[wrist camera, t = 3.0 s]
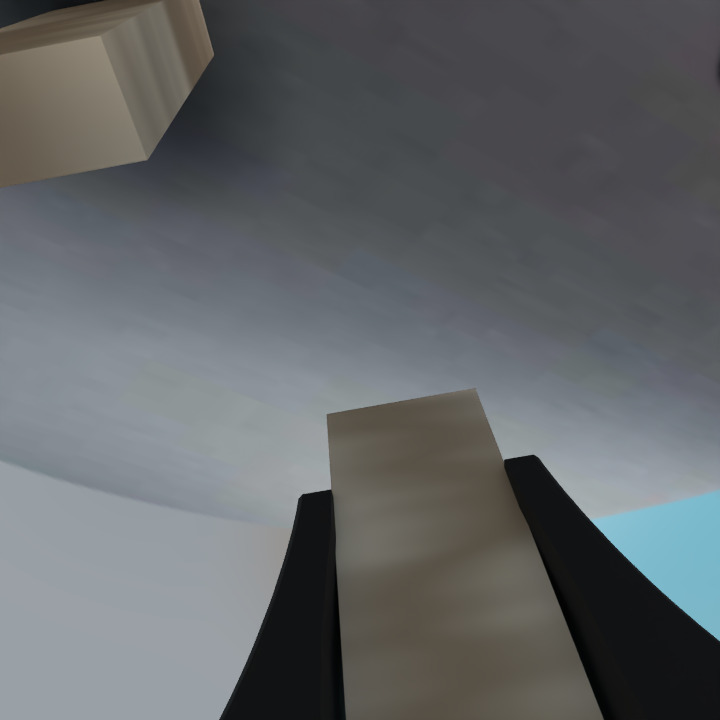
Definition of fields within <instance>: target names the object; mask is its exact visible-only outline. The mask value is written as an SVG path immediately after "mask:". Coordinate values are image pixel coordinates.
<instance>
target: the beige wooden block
mask: <svg viewBox="0 0 720 720" xmlns="http://www.w3.org/2000/svg"><path fill="white" fill-rule="evenodd" d="M213 56H214V52H213V49H212V45H211V42H210V38H209V35H208V31H207V27H206V24H205V20H204V17H203V13H202V9H201V6H200V2H199V0H105V1H100V2H95V3H90V4H84V5H79V6H74V7H69V8H64V9H59V10H54V11H50V12H47V13H44V14H41V15H38V16H35V17H32V18H30V19H27V20H24V21H21V22H18V23H15V24H12V25H9V26H6V27H4V28H1V29H0V188H1V187H6V186H11V185H17V184H22V183H27V182H33V181H38V180H43V179H49V178H54V177H59V176H65V175H70V174H75V173H81V172H86V171H91V170H97V169H102V168H107V167H113V166H118V165H123V164H129V163H134V162H139V161H145V160H148V158H149V157H150V155H151V154H152V152H153V151H154V149H155V147H156V146H157V144H158V143H159V141H160V140H161V138H162V136H163V135H164V133H165V132H166V130H167V129H168V127H169V125H170V124H171V122H172V121H173V119H174V118H175V116H176V114H177V113H178V111H179V110H180V108H181V107H182V105H183V103H184V102H185V100H186V99H187V97H188V96H189V94H190V92H191V91H192V89H193V88H194V86H195V84H196V83H197V81H198V80H199V78H200V77H201V75H202V73H203V72H204V70H205V69H206V67H207V66H208V64H209V62H210V61H211V59H212V58H213Z"/></svg>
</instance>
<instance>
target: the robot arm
mask: <svg viewBox="0 0 720 720" xmlns="http://www.w3.org/2000/svg"><path fill="white" fill-rule="evenodd" d="M504 468H505V471H506V474H507V476H508V479H509V482H510V484H511V487H512V489H513V492H514V495H515V497H516V500H517V502H518V505H519V508H520V510H521V512H522V514H523V516H524V518H525V520H526V522H527V524H528V526H529V528H530V531H531V533H532V536H533V539H534V541H535V544H536V546H537V549H538V551H539V554H540V557H541V559H542V562H543V564H544V567H545V569H546V572H547V575H548V577H549V580H550V582H551V585H552V588H553V590H554V593H555V595H556V598H557V600H558V603H559V606H560V608H561V611H562V613H563V616H564V618H565V621H566V624H567V626H568V629H569V631H570V634H571V637H572V639H573V642H574V644H575V647H576V649H577V652H578V655H579V657H580V660H581V662H582V665H583V667H584V670H585V673H586V675H587V678H588V680H589V683H590V685H591V688H592V691H593V693H594V696H595V698H596V701H597V704H598V706H599V709H600V711H601V714H602V716H603V719H604V720H720V641H719V640H717V639H716V638H715V637H714V636H713V635H711V634H710V633H709V632H708V631H706V630H705V629H704V628H703V627H701V626H700V625H699V624H698V623H697V622H696V621H694V620H693V619H692V618H691V617H690V616H689V615H687V614H686V613H685V612H684V611H683V610H682V609H680V608H679V607H678V606H677V605H675V603H674V602H672V601H671V600H670V599H669V598H668V597H667V596H666V595H665V594H663V593H662V592H661V591H660V590H659V589H658V588H657V587H656V586H655V585H654V584H653V583H652V582H651V581H649V580H648V579H647V578H646V577H645V576H644V575H643V574H642V573H641V572H640V571H639V570H638V569H637V568H636V567H635V566H634V565H633V564H632V563H631V562H630V561H629V560H628V559H627V558H626V557H625V556H624V555H623V554H622V553H621V552H620V551H619V550H618V549H617V548H616V547H615V546H614V545H613V544H612V543H611V542H610V541H609V540H608V539H607V538H606V537H605V536H604V534H603V533H602V532H601V531H600V530H599V529H598V528H597V527H596V526H595V525H594V524H593V523H592V522H591V521H590V519H589V518H588V517H587V516H586V515H585V514H584V513H583V512H582V511H581V509H580V508H579V507H578V506H577V505H576V504H575V502H574V501H573V500H572V499H571V498H570V497H569V496H568V494H567V493H566V492H565V491H564V490H563V488H562V487H561V486H560V485H559V484H558V482H557V481H556V480H555V479H554V477H553V476H552V475H551V474H550V472H549V471H548V470H547V468H546V467H545V466H544V464H543V463H542V462H541V460H540V459H539V458H538V457H537V456H535V455H529V456H523V457H517V458H511V459H505V460H504ZM219 720H346V711H345V695H344V679H343V663H342V647H341V632H340V616H339V600H338V584H337V568H336V529H335V513H334V497H333V494H332V490H326V491H320V492H314V493H308V494H303V495H302V496H301V497H300V498H299V499H298V505H297V511H296V516H295V520H294V525H293V529H292V534H291V537H290V541H289V544H288V548H287V552H286V555H285V559H284V562H283V565H282V568H281V571H280V575H279V577H278V581H277V584H276V587H275V590H274V593H273V596H272V599H271V602H270V604H269V607H268V609H267V612H266V615H265V618H264V620H263V623H262V625H261V628H260V630H259V633H258V636H257V639H256V641H255V643H254V646H253V648H252V651H251V653H250V655H249V658H248V660H247V662H246V665H245V667H244V669H243V671H242V674H241V676H240V678H239V680H238V682H237V684H236V687H235V689H234V691H233V693H232V695H231V697H230V699H229V701H228V703H227V706H226V708H225V709H224V711H223V713H222V715H221V717H220V719H219Z"/></svg>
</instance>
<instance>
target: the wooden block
mask: <svg viewBox="0 0 720 720" xmlns="http://www.w3.org/2000/svg"><path fill="white" fill-rule="evenodd" d="M327 426H328V442H329V458H330V474H331V490H332V494H333V497H334V513H335V529H336V568H337V584H338V600H339V616H340V632H341V647H342V663H343V679H344V695H345V711H346V720H604V719H603V716H602V714H601V711H600V709H599V706H598V704H597V701H596V698H595V696H594V693H593V691H592V688H591V685H590V683H589V680H588V678H587V675H586V673H585V670H584V667H583V665H582V662H581V660H580V657H579V655H578V652H577V649H576V647H575V644H574V642H573V639H572V637H571V634H570V631H569V629H568V626H567V624H566V621H565V618H564V616H563V613H562V611H561V608H560V606H559V603H558V600H557V598H556V595H555V593H554V590H553V588H552V585H551V582H550V580H549V577H548V575H547V572H546V569H545V567H544V564H543V562H542V559H541V557H540V554H539V551H538V549H537V546H536V544H535V541H534V539H533V536H532V533H531V531H530V528H529V526H528V524H527V522H526V520H525V518H524V516H523V514H522V512H521V510H520V508H519V505H518V502H517V500H516V497H515V495H514V492H513V489H512V487H511V484H510V482H509V479H508V476H507V474H506V471H505V468H504V461H503V459H502V456H501V453H500V451H499V448H498V446H497V443H496V441H495V438H494V435H493V433H492V430H491V428H490V425H489V422H488V420H487V417H486V415H485V412H484V410H483V407H482V404H481V402H480V399H479V397H478V394H477V392H476V389H475V388H473V389H468V390H462V391H456V392H451V393H445V394H439V395H433V396H428V397H422V398H416V399H411V400H405V401H399V402H394V403H388V404H382V405H376V406H371V407H365V408H359V409H354V410H348V411H342V412H337V413H331V414H327Z"/></svg>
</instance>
